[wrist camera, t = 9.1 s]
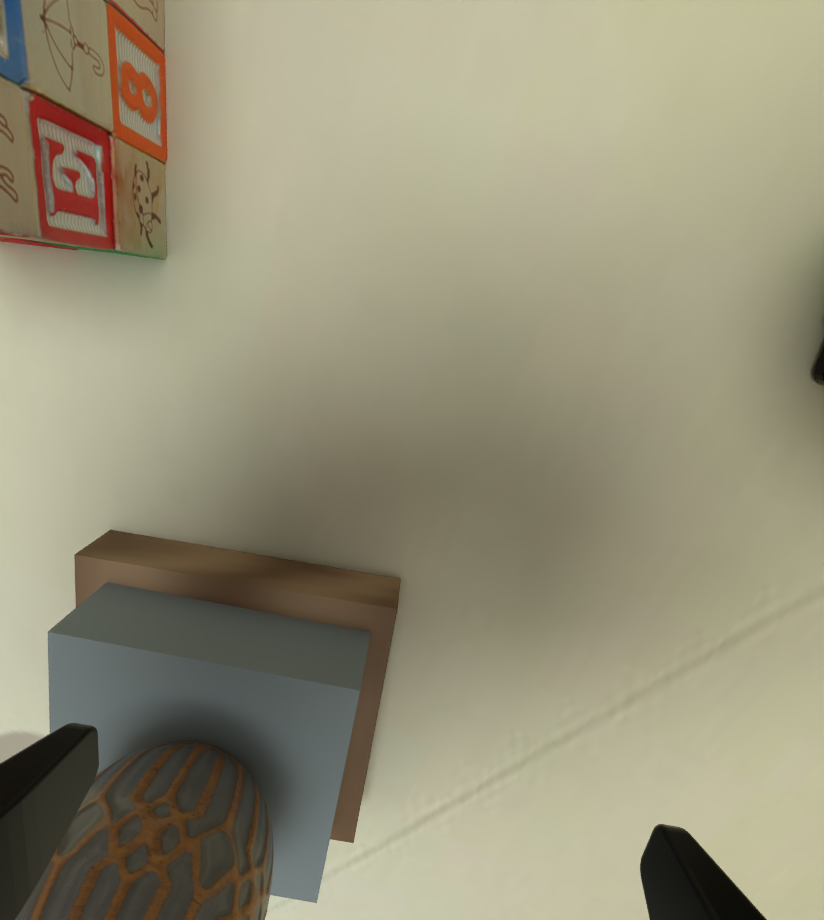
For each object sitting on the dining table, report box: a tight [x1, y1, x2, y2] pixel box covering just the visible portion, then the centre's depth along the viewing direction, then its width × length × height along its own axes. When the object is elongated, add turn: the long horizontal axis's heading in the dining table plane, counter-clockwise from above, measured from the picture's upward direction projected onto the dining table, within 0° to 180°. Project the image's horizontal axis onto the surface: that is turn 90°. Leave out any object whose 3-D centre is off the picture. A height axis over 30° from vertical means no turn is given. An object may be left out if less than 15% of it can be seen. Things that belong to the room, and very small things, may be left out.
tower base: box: [75, 530, 400, 843], centre depth 22 cm, size 12×12×3 cm
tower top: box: [48, 582, 371, 903], centre depth 19 cm, size 10×10×3 cm
